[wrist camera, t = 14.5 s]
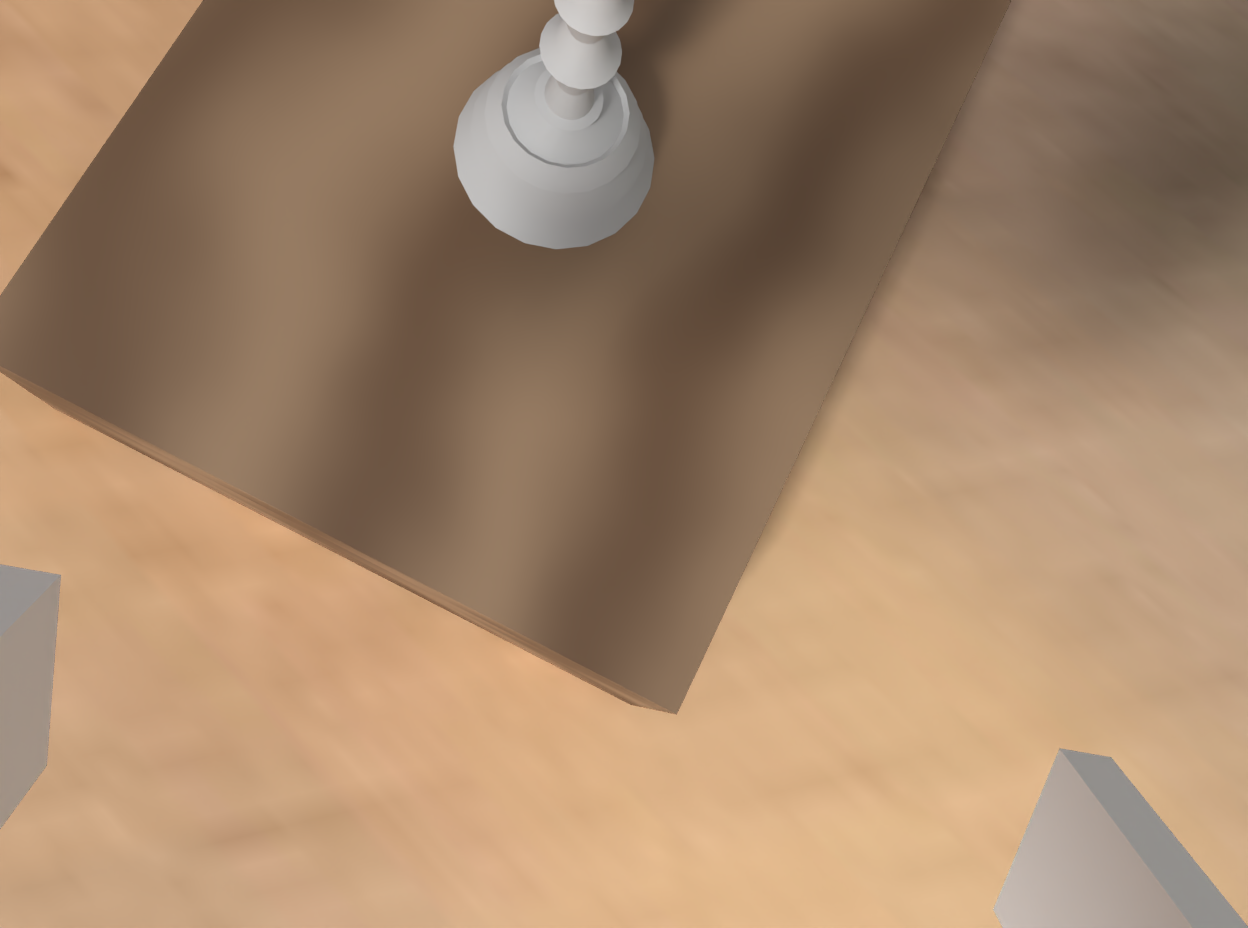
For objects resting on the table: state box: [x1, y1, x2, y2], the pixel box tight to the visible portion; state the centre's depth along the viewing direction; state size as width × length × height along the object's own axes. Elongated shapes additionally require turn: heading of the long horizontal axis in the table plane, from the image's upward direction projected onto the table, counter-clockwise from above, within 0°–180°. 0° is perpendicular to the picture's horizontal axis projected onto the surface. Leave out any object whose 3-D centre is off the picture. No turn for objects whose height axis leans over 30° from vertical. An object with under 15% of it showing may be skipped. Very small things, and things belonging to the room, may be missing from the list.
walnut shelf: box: [0, 0, 1011, 714], centre depth 31 cm, size 18×22×6 cm
